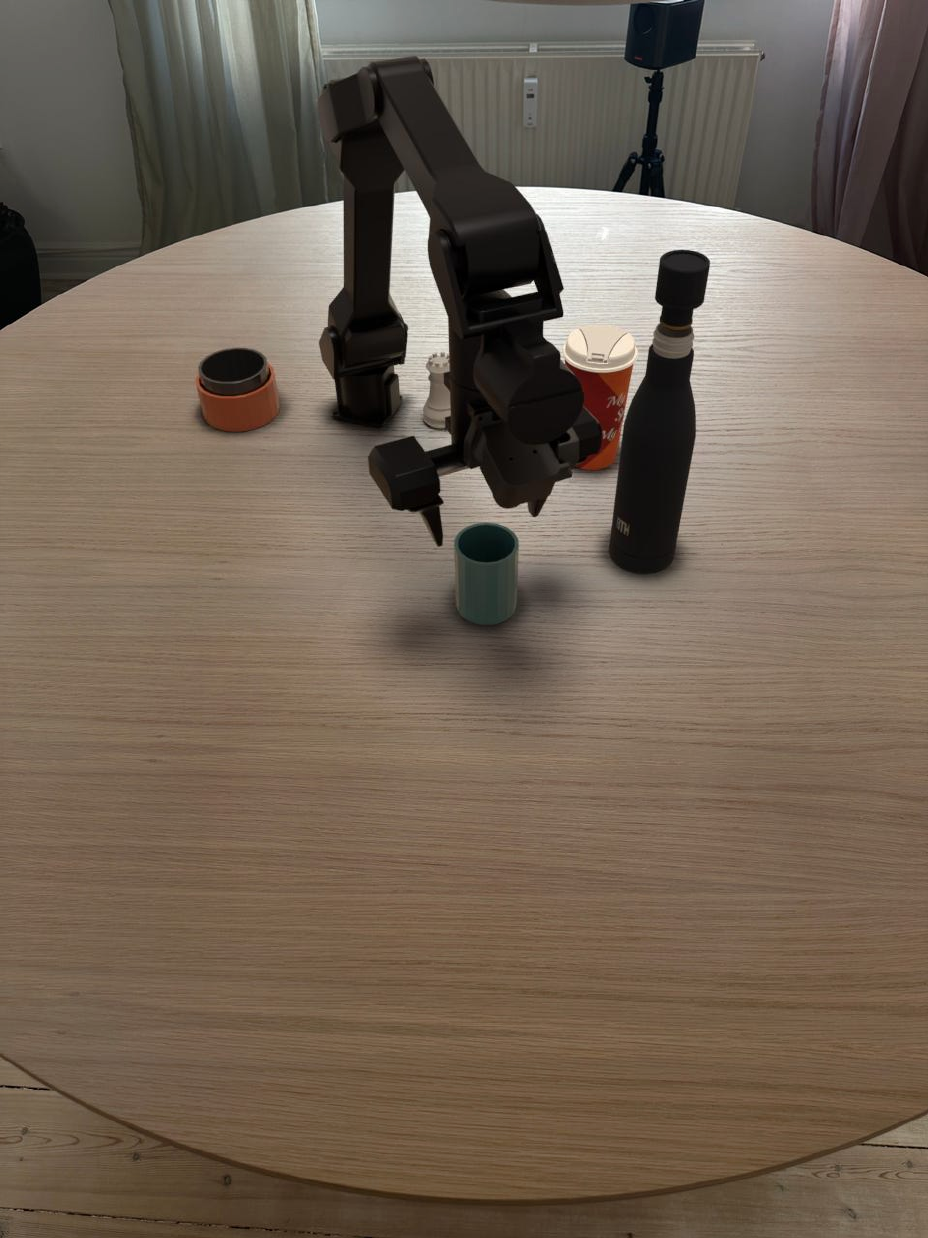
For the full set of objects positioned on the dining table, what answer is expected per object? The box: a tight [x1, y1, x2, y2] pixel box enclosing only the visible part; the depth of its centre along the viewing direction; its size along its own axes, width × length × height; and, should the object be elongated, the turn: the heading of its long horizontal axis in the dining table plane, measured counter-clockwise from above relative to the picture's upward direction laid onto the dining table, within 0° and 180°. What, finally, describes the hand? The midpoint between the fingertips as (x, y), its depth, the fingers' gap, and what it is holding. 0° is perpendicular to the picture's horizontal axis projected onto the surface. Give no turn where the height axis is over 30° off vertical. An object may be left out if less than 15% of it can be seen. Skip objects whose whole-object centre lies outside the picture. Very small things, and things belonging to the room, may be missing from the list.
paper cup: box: [561, 324, 639, 471], centre depth 104 cm, size 8×8×14 cm
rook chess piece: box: [422, 351, 451, 430], centre depth 111 cm, size 4×4×8 cm
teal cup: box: [453, 522, 520, 626], centre depth 90 cm, size 6×6×8 cm
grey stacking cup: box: [197, 347, 270, 396], centre depth 114 cm, size 8×8×6 cm
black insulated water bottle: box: [608, 249, 711, 574], centre depth 86 cm, size 6×6×30 cm
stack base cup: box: [195, 361, 281, 433], centre depth 114 cm, size 9×9×4 cm
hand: (486, 528), depth 86 cm, fingers open, 9 cm apart
